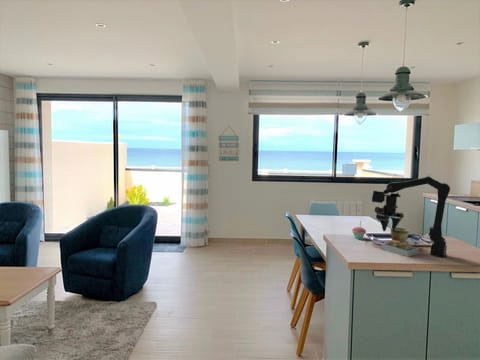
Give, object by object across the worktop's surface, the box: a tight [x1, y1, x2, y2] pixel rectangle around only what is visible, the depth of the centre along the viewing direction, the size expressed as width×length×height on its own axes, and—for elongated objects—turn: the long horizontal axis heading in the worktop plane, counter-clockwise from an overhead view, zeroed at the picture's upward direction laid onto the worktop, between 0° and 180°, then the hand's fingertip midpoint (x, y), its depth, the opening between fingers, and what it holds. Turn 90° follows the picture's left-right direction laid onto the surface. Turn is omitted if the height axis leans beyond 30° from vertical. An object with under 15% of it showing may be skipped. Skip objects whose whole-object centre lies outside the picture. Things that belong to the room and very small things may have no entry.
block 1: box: [387, 239, 400, 248], centre depth 191 cm, size 4×4×4 cm
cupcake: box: [351, 220, 367, 240], centre depth 216 cm, size 9×8×12 cm
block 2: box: [399, 242, 413, 251], centre depth 185 cm, size 4×4×4 cm
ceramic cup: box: [390, 226, 410, 243], centre depth 202 cm, size 13×10×10 cm
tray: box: [380, 242, 420, 257], centre depth 188 cm, size 16×11×3 cm
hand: (388, 230), depth 194 cm, fingers open, 9 cm apart
